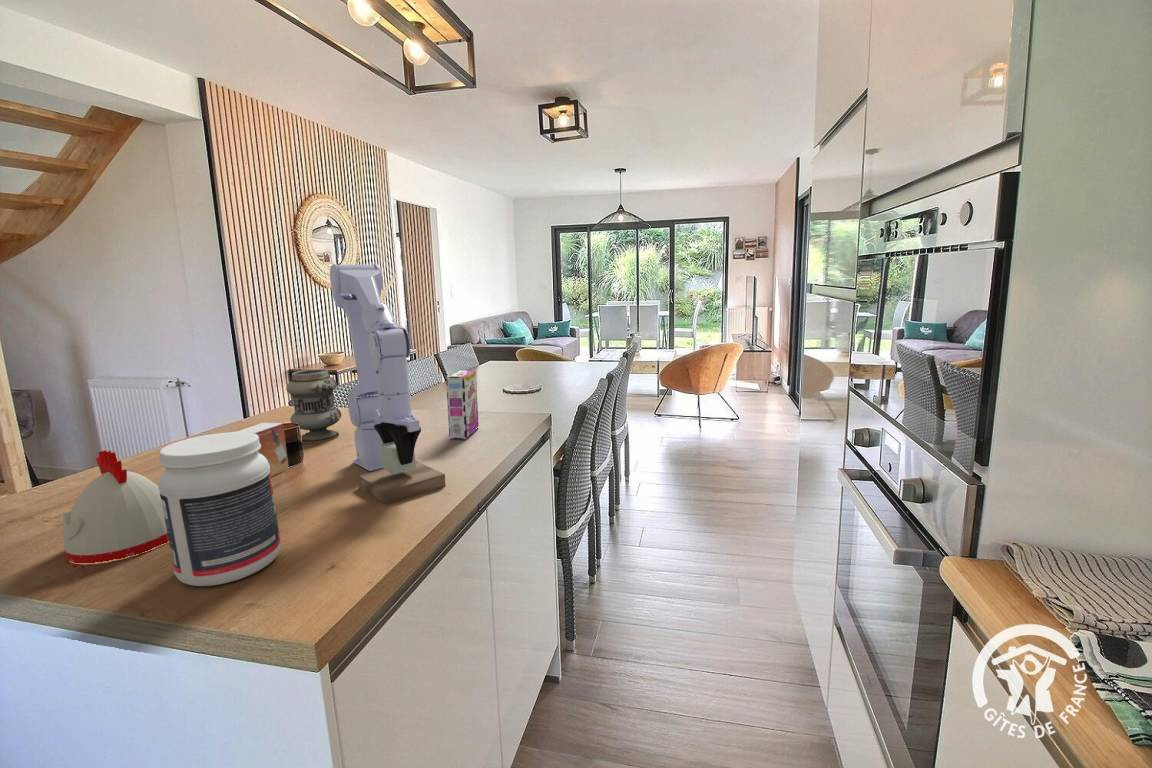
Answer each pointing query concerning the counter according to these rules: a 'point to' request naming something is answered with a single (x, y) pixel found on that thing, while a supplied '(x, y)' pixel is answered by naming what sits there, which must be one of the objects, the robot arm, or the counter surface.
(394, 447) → the sage block
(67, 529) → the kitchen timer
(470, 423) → the candy bar box
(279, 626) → the counter surface
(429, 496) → the counter surface
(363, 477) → the walnut slab
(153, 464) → the counter surface
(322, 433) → the ornate stone vase
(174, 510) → the supplement tub
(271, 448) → the small box
